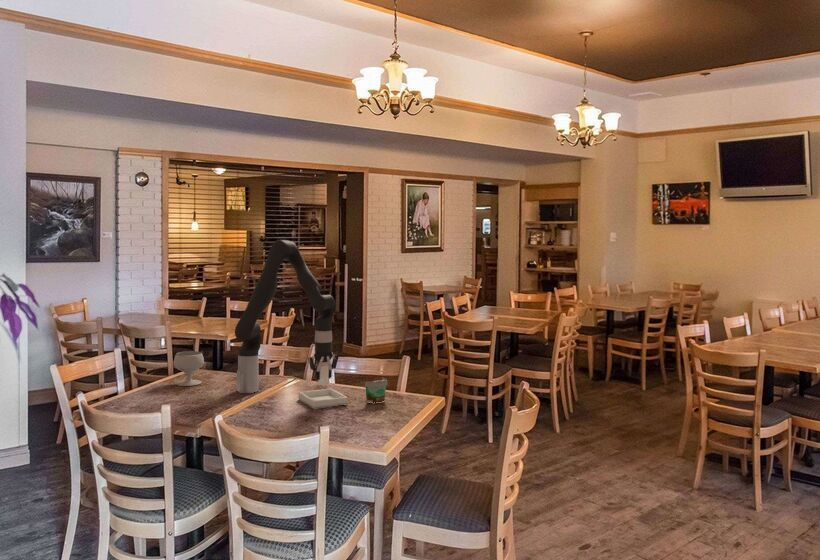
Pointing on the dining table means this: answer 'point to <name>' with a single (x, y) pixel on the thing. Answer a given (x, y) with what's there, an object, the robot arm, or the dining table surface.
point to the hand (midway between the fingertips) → (323, 378)
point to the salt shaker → (324, 374)
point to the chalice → (188, 366)
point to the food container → (376, 390)
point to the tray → (322, 398)
